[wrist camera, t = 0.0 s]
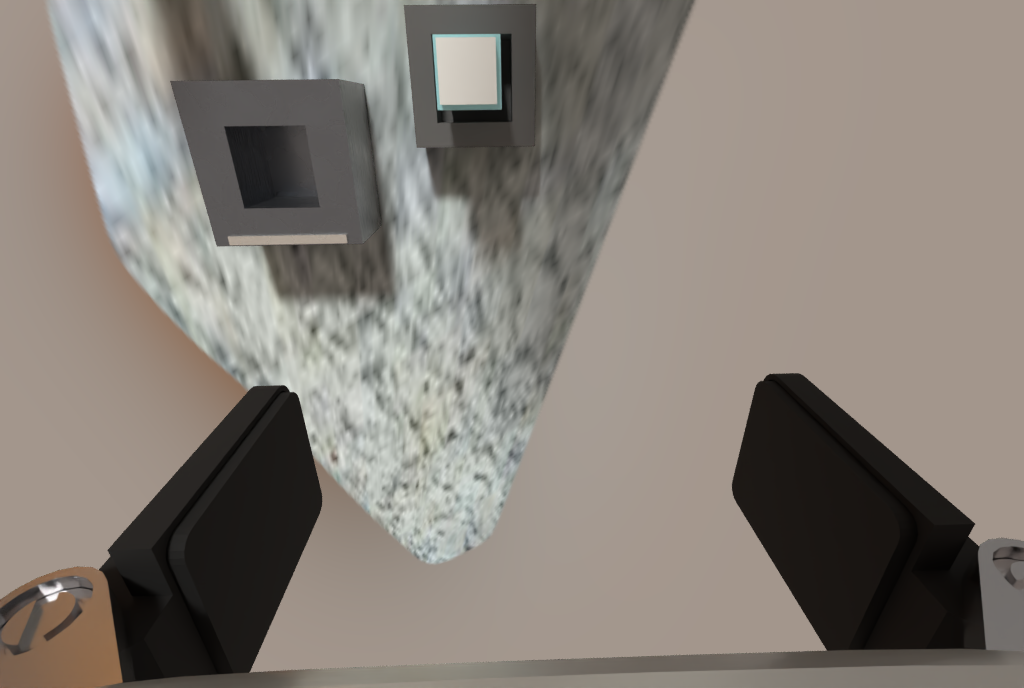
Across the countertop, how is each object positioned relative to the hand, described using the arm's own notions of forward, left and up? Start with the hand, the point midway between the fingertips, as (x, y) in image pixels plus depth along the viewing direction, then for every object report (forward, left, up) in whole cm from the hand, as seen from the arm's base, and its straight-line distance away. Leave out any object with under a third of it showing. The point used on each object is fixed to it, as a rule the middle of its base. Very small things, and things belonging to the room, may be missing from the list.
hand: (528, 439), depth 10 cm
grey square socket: (-8, -2, -31) cm, 32 cm away
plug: (-8, -2, -30) cm, 31 cm away
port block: (-3, -15, -31) cm, 35 cm away
